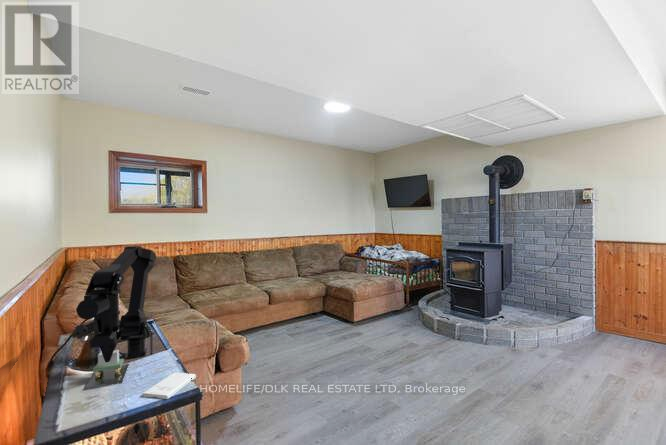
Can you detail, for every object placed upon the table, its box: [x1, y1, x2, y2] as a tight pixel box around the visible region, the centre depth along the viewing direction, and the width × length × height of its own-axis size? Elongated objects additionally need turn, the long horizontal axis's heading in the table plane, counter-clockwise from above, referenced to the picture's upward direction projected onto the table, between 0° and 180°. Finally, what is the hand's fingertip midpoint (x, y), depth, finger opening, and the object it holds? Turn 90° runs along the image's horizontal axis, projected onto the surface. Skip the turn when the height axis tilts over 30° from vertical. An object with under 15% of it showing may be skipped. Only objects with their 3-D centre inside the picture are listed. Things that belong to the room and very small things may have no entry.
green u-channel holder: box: [92, 349, 125, 373], centre depth 101 cm, size 5×7×4 cm
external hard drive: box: [141, 371, 197, 400], centre depth 94 cm, size 2×8×12 cm
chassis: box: [85, 363, 130, 391], centre depth 101 cm, size 13×9×3 cm
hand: (108, 359), depth 101 cm, fingers open, 4 cm apart
